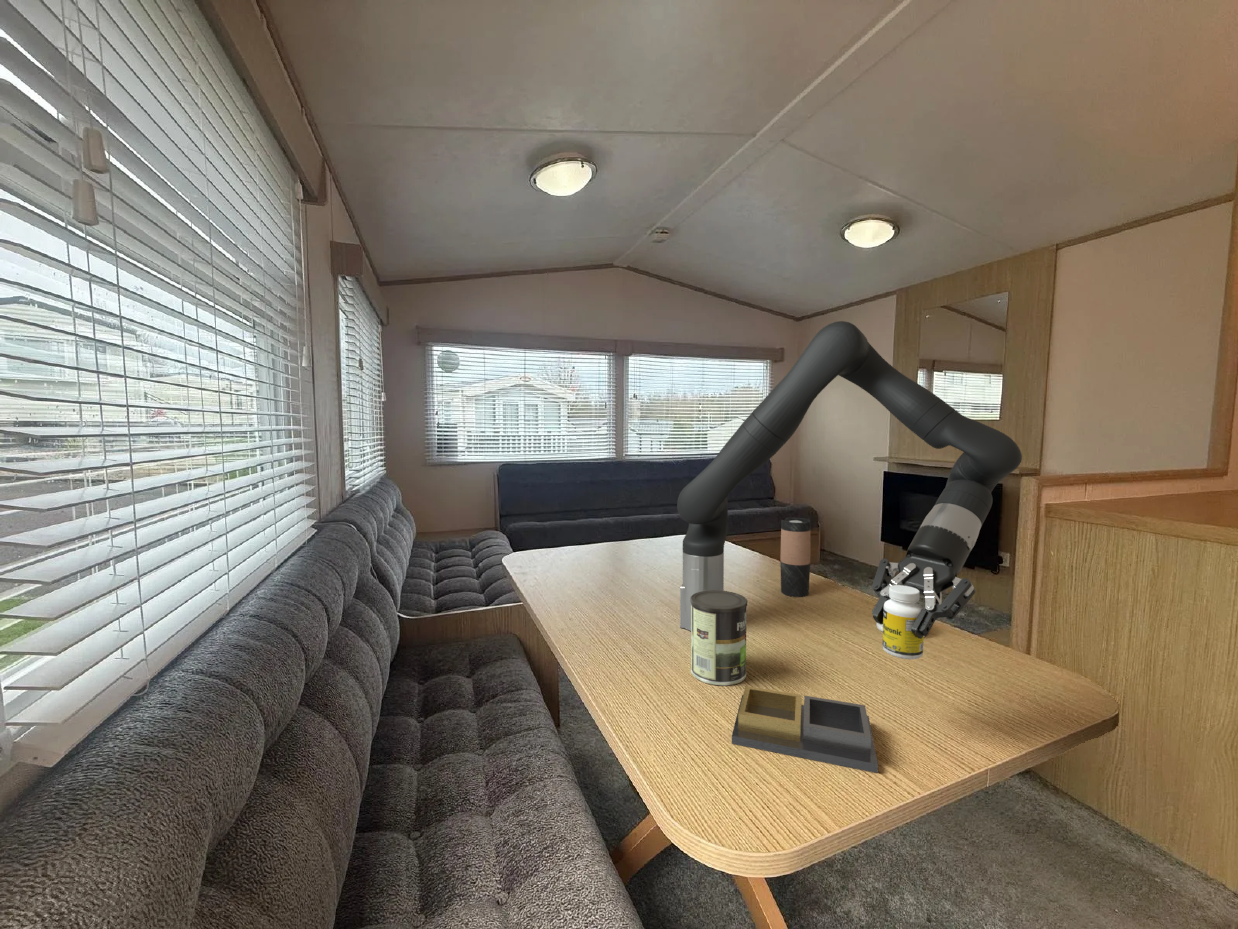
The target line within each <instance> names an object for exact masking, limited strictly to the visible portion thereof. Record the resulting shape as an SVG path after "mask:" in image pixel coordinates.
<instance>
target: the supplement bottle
mask: <svg viewBox="0 0 1238 929" xmlns="http://www.w3.org/2000/svg"><path fill="white" fill-rule="evenodd" d="M920 595H921V594H920V592H919V590H918V589H916V588H913V587H909V586H904V585H903V584H901V585H894V586H891V587H890V588H889V597H890V598H891V599H890V600H887V601H886V602H885V603H884V610H883V632H882V649H883V651H884V652H885V653H887V654H888V655H891V656H892V657H894V658H898V659H903V660H917V659H920V658H922V657H923V654H924V639H925V637H924V636H923V638H922V639H920V638H917V637H915V636H914V634H913V633H912V631H911V629H912V627H913V625H914V623H915V621H916V619H917V617H918V615H919V613H920V612H921V610H922V609H923V610H925V607H924V606H923V605H921V603H919V601H920Z"/></svg>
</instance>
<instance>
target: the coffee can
mask: <svg viewBox="0 0 1238 929" xmlns="http://www.w3.org/2000/svg"><path fill="white" fill-rule="evenodd" d="M690 602H691V631H690V637H691V638H690V642H691V643H690V646H691V648H690V651H691V652H690V656H691V657H690V658H691V660H690V662H691V664H690V667H691V668H690V673H691V675H692V676H693V678H695V679H696V680H698V681H700V682H702V683H705V684H708V685H711V686H734V685H738V684H739V683H741V682H743V681H744V680H745V679H746V678H747V608H748V607H747V606H748V598H746V597H745V596H743V595H742V594H740V593H736V592H733V591H728V590H724V591H721V590H709V591H701V592H697V593H695V594H693V595H692V596H691V597H690Z"/></svg>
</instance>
